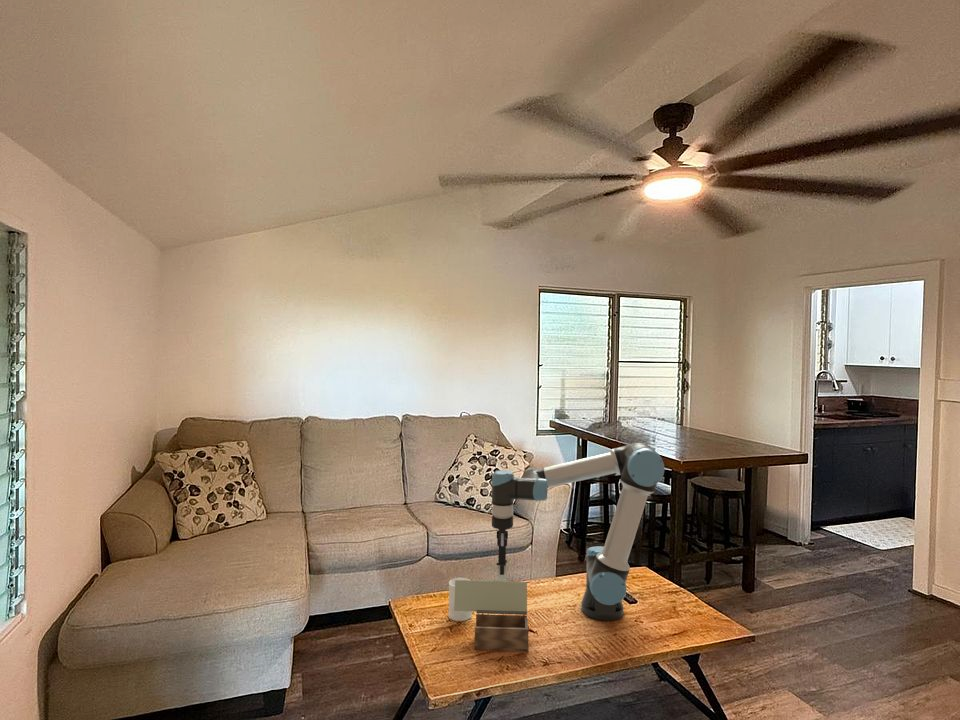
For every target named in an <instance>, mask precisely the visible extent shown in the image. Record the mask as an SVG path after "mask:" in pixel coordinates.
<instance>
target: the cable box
mask: <svg viewBox="0 0 960 720" xmlns="http://www.w3.org/2000/svg"><path fill="white" fill-rule="evenodd" d="M474 650H475V651H495V652H497V651H498V652H500V651H501V652H505V651H506V652H529V621H528V615H517V614H483V613H476V614H475V626H474Z"/></svg>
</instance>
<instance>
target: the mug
mask: <svg viewBox="0 0 960 720" xmlns="http://www.w3.org/2000/svg"><path fill="white" fill-rule="evenodd" d="M455 580H470V579H469V578H466V577H455V578H452V579H450V580H449V583H448V613H447V616H448V618H449V619H450V620H451V621H455V622H464V621H468V620H469V619H471V618H472V616H473V614H472V612H471V611H454V601H455Z"/></svg>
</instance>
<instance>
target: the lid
mask: <svg viewBox="0 0 960 720" xmlns="http://www.w3.org/2000/svg"><path fill="white" fill-rule="evenodd" d="M454 611H471V612H473V613H474V612H475V613H476V614H488V615H522V616H528V582H527V581H507V580H506V581H498V580H470V579H469V580H455V601H454Z"/></svg>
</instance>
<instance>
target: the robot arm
mask: <svg viewBox="0 0 960 720" xmlns="http://www.w3.org/2000/svg"><path fill="white" fill-rule="evenodd" d="M612 474H613V475H614V474H617V475H619V476H621V477H620V479H619V481H620V483H621V484H622V489H621V490H620V491H621V492H620V494H619V498H618V501H617V504H616V507H615V511H614V514H613V517H612V520H611V523H610V527H609V530H608V533H607V535H606V539H605V543H604V546H601V545H599V546H598V545H597V546H591V547H588V548H587V550H586V554H585V556H586V588H585V590H584V594H583V597H582V599H581V602H580V603H581V606H580V608H581V609H580V610H581V612H582V613H583V614H584V615H585V616H587V617H588V618H591V619H594V620H598V621H604V622H605V621H606V622H609V621H610V622H611V621H616V620H618V619H621V618H622V617H623V616H624V609H625V608H624V604H623V600H624V598H625V597H626V595H627V594H626V593H627V580H628V576H629V573H630V570H631V567H630V565H629V563H628V562H629V561H628V560H629V558H630V554H631V550H632V547H633V545H634V541H635V539H636V535H637V531H638V529H639V526H640V522H641V518H642V517H643V514H644V513H643V512H644V509H645V506H646V505H647V503H646V502H647V500H648V497H649V496H650V495H652V494H653V493H655V491H656V488H657V485H658V483H660V482H661V481H662V479H663V477H664V474H665V462H664V461H663V459H662V456H661V455H660V454H659V453H658V452H657V451H656V450H655V449H653V448H652V447H651V446H650V445H648V444H646V443H643V442H635V443H631V444H627V445H623V446H619V447H615V448H612V449H611V450H610V452H606V453H600V454H597V455H593V456H589V457H584V458H580V459H576V460H571V461H567V462H562V463H558V464H554V465H549V466H546V467H541V468H535V467H532V468H528V469H527V470H526V471H525V472H524V473H523V475H522V477H515V476H514V472H513V471H511V470H506V469H504V470H503V469H500V470H496V471H494V472H493V473H492V477H491V478H492V479H491V505H490V506H489V508H490V509H491V515H492V516H491V526H492V527H493V528H494V529H496V542H497V546H498V556H497V557H498V562H496V564H495V565H496V566H497V581H507V563H508V561H509V560H508V559H506V558H507V556H506V555H507V554H506V553H507V551H506V550H507V549H506V548H507V547H508V538H509V529H511V528H513V527H514V517H513V516H514V500H517V501H518V500H521V501H535V502H540V501H546V500H547V499H548V489H549V488H553V487H559V486H562V485H566V484H570V483H575V482H581V481H585V480H590V479H594V478H598V477H603V476H608V475H612Z"/></svg>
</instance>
